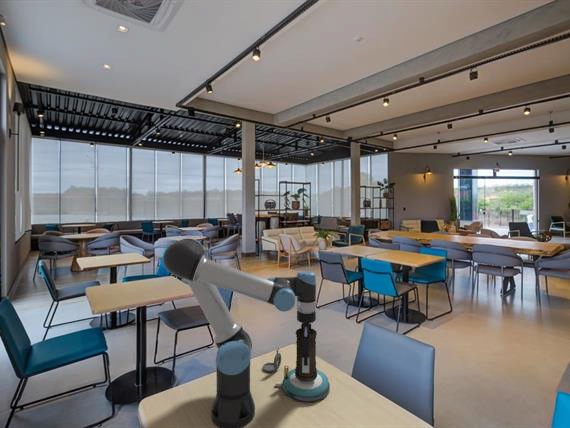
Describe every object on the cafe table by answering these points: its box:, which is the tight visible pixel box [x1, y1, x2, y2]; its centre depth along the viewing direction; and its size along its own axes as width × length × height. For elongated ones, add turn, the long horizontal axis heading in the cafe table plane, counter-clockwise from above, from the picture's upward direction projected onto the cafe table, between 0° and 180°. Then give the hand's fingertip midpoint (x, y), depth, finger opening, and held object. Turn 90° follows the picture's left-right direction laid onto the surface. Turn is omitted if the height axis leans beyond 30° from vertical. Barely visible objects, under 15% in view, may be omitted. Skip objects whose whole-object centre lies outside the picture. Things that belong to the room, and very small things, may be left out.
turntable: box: [283, 365, 329, 397], centre depth 124 cm, size 18×18×6 cm
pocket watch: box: [262, 347, 282, 373], centre depth 138 cm, size 8×8×10 cm
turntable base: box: [275, 379, 331, 404], centre depth 124 cm, size 22×19×2 cm
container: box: [294, 328, 318, 382], centre depth 124 cm, size 9×9×18 cm
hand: (306, 366), depth 124 cm, fingers closed on container, 8 cm apart
